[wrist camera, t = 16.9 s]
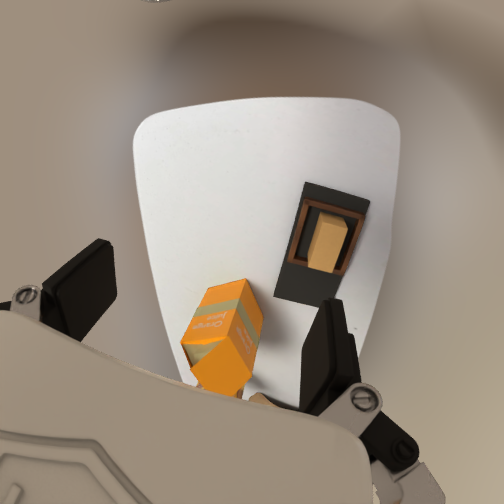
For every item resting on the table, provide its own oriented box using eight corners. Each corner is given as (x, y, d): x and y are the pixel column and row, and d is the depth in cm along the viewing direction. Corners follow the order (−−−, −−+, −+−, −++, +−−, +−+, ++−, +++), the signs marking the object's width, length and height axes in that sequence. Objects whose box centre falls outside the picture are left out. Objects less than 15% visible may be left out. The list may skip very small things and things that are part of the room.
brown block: (307, 253, 43) (308, 267, 39) (320, 211, 40) (322, 221, 36) (329, 258, 43) (331, 273, 39) (343, 217, 40) (348, 228, 36)
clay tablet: (240, 407, 66) (238, 415, 64) (259, 391, 62) (257, 399, 59) (285, 423, 67) (284, 431, 65) (307, 409, 63) (307, 418, 60)
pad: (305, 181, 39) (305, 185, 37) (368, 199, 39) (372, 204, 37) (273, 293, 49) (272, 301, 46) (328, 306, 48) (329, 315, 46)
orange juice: (227, 324, 53) (197, 408, 36) (207, 287, 50) (164, 370, 32) (264, 317, 51) (246, 406, 33) (247, 277, 48) (217, 365, 30)
